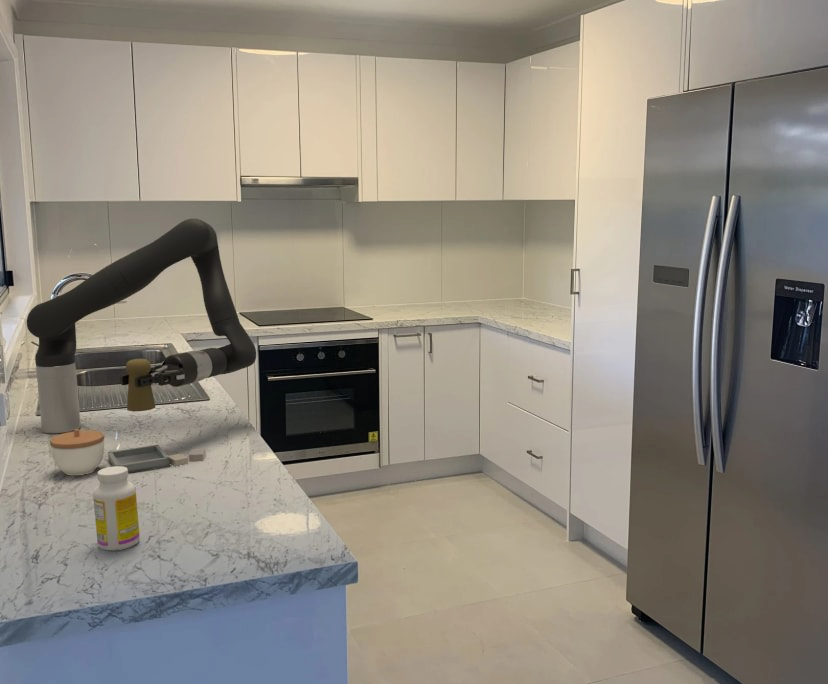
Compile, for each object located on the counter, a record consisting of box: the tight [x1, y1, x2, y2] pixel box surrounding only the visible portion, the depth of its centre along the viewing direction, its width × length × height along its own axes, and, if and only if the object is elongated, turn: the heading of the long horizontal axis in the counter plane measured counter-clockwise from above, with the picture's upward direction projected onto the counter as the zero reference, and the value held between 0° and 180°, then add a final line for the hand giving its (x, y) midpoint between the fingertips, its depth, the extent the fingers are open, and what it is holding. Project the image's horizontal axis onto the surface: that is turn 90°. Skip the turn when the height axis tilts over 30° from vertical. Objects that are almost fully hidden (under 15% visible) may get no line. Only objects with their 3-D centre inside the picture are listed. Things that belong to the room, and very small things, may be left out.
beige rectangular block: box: [188, 448, 207, 462], centre depth 181 cm, size 4×3×2 cm
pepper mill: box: [125, 358, 156, 412], centre depth 177 cm, size 6×6×11 cm
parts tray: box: [107, 444, 171, 475], centre depth 178 cm, size 12×11×2 cm
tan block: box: [167, 453, 189, 468], centre depth 178 cm, size 4×3×2 cm
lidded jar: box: [49, 428, 105, 476], centre depth 172 cm, size 11×11×9 cm
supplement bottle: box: [92, 466, 141, 552], centre depth 134 cm, size 7×7×13 cm
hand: (129, 381), depth 175 cm, fingers closed on pepper mill, 4 cm apart
